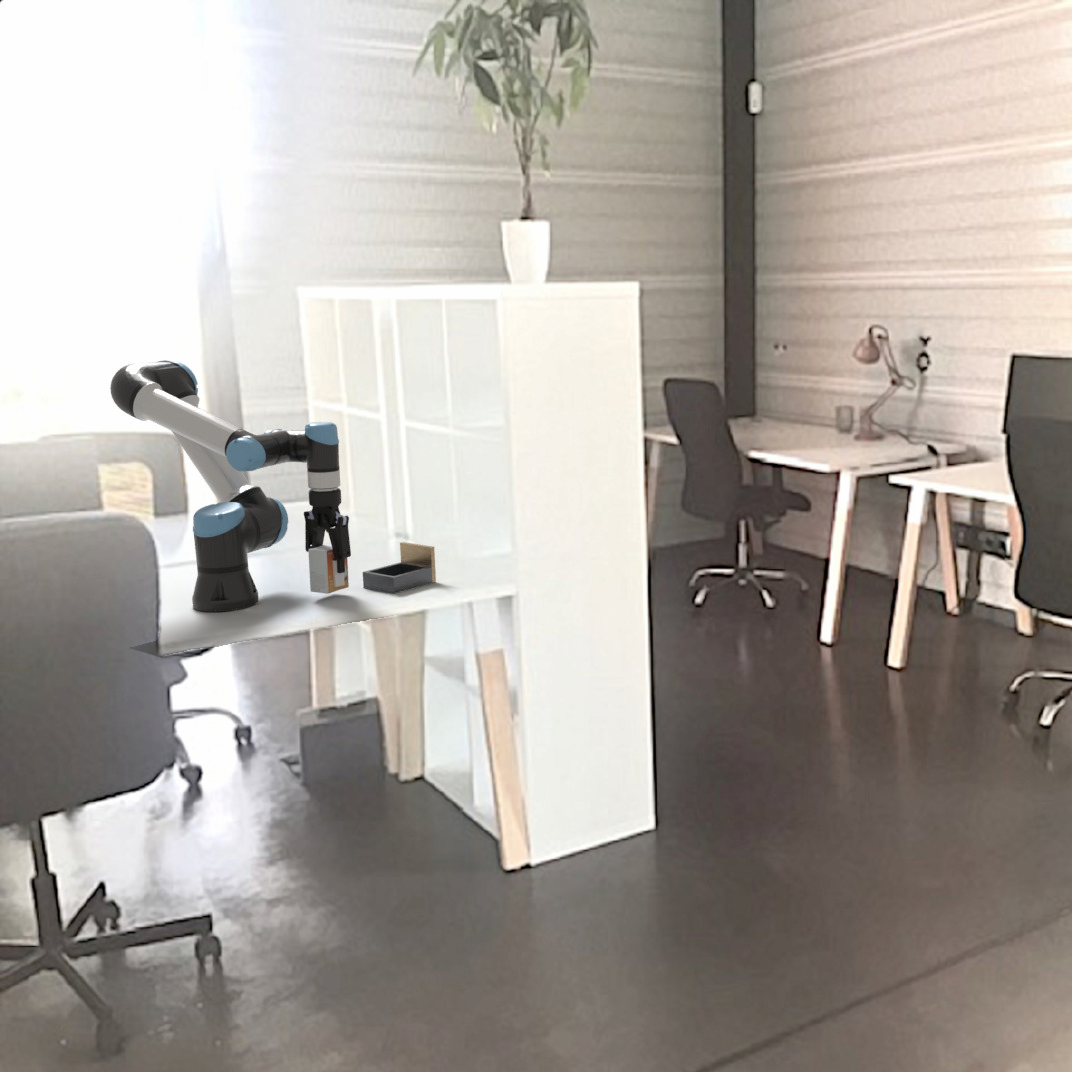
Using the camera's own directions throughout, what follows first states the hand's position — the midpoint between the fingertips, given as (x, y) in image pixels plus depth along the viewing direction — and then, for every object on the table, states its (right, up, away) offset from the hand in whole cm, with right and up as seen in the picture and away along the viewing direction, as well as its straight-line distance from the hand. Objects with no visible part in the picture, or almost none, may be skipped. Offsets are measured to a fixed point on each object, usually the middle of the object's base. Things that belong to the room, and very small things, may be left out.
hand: (329, 583), depth 283 cm
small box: (0, -2, 0) cm, 2 cm away
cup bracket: (+15, -1, +10) cm, 18 cm away
